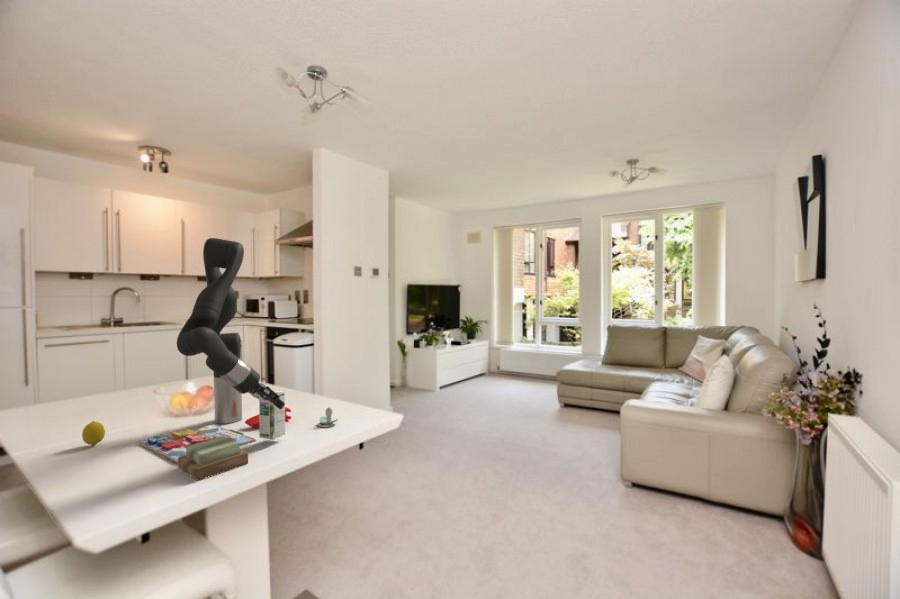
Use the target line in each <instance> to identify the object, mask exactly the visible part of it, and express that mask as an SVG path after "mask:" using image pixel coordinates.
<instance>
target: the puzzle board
mask: <svg viewBox="0 0 900 599" xmlns="http://www.w3.org/2000/svg"><path fill="white" fill-rule="evenodd" d="M208 425H209V426H208ZM205 426H206V427H205ZM222 436H225V437H227V438H229V439H232V440H234V441H236V442H238V443H240V447H242V446H244V445H248V443H249V444H252V443H255V442H256V441H257V438H254V437H251V436H249V435H246V434H245V433H243V432H239V431H236V430H234V429H227V428H224V427H221V425H218V424H215V423H213V424H207V425H204V426H198V427H196V428H195V427H194V428H191V429H190V428H181V429H179V430H175V431H174V430H173V431H172V432H171V433H169V434H165V435H164V434H162V433H161V434H158V435H154V436H152V437H149V438H147V439H145V440H141V441H138V445H139V446H142V447H143V448H145V449H147V450H148V451H151V452H153V453H155V454H156V453H157V455H158V454H159V455H158V456H160V455H161V457H162V456H163V457H162V458H164V457H165V458H164V459H166V458H167V459H166V460H168V459H169V460H168V461H170V460H171V461H170V462H172V463H174V464H175V465H178V457H182V456H185V455H186V446H189V445H193V444H196V443H200V442H204V441H207V440H211V439H214V438H218V437H222ZM241 445H242V446H241Z"/></svg>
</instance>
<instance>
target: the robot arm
mask: <svg viewBox="0 0 900 599" xmlns="http://www.w3.org/2000/svg"><path fill="white" fill-rule="evenodd" d="M202 252H203V253H202V255H203V256H202V257H203V263H204V264H203V266H204V273H205V278H206V279H205V280H206V286H205V287H204V288H203V289H202V290H201V291H200V293H198V296H197V298H196V299H195V303H194V305H193V308H192V311H191V315H190V316H189V317H188V319H187V320H186V321H185V323H184V325H183V326H182V328H181V330H180V331H179V333H178V336H177V338H176V348H177V350H178V352H179V353H180V354H182V356H187V357H191V356H197V355H200V354H202V353H203V354H205V355H206V359H205V365H206V366H207V367H208V368H209V369H210V370H212V371H213V393H214V394H213V396H214V400H213V401H214V403H213V404H214V424H215V423H216V424H221V425H222V424H230V423H235V422H238V421H240V420H242V419H243V400H242V399H243V396H242V395H245V394H247V393H248V394H249V395H251V396H252V397H253V398H255V399H257V400H259V397H260V398H261V399H263V400H265V401H266V400H268V401H269V402H271V403H273V404H274V405H275V406H276V407H278V408H279V409H282V408H283V407H284V405H285V406H286V402H285V403H284V402H283V401H281V400H280V399H279V397H280V396H279V395H277V394H276V393H275V392H274V391H275V390H274V391H273V389H271V388H270V387H269V386H266V385H265V384H264V383H262V382H260V379H261V375H260V373H258V372H257V370H255V369H254V368H252V367H251V366H250V365H249V364H248V363H246V362H245V361H244V360H242V359H241V357H242V356H241V354H242V351H241V349H242V339H241V336H240V334H239V333H237V332H232V333H231V332H230V333H222V330H223V329H224V328H225V326H227V325H228V324H229V323H230V322H231V321H232V320H233V319H234V317H235V316H236V314H237V312H238V296H237V292H236V291H235V289H234V288H233V287H232V285H233V283H234V282H235V279H236V277H237V275H238V273H239V271H240V268H241V267H242V264H243V261H244V252H245V251H244V246H243V244H242V243H241V242H238V241H233V240H228V239H222V238H215V237H210V238H207V239H206V240H205V242H204V245H203V251H202ZM220 269H225V270H224V271H223V273H222V272H221V270H220ZM264 396H265V397H264ZM273 396H274V397H273ZM272 397H273V398H272Z"/></svg>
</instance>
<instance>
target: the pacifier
mask: <svg viewBox="0 0 900 599" xmlns="http://www.w3.org/2000/svg"><path fill="white" fill-rule="evenodd" d="M333 413H334V412H333V409H332V408H331V407H330V406H329V407H327V408H326V409H325V416H321V417H320V418H319V422H318V423H317V426H318V427H320V428H331V427H333V426H334V423H335V422H337V421H339V419H338V418H337V419H335V420H332V414H333Z"/></svg>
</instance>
